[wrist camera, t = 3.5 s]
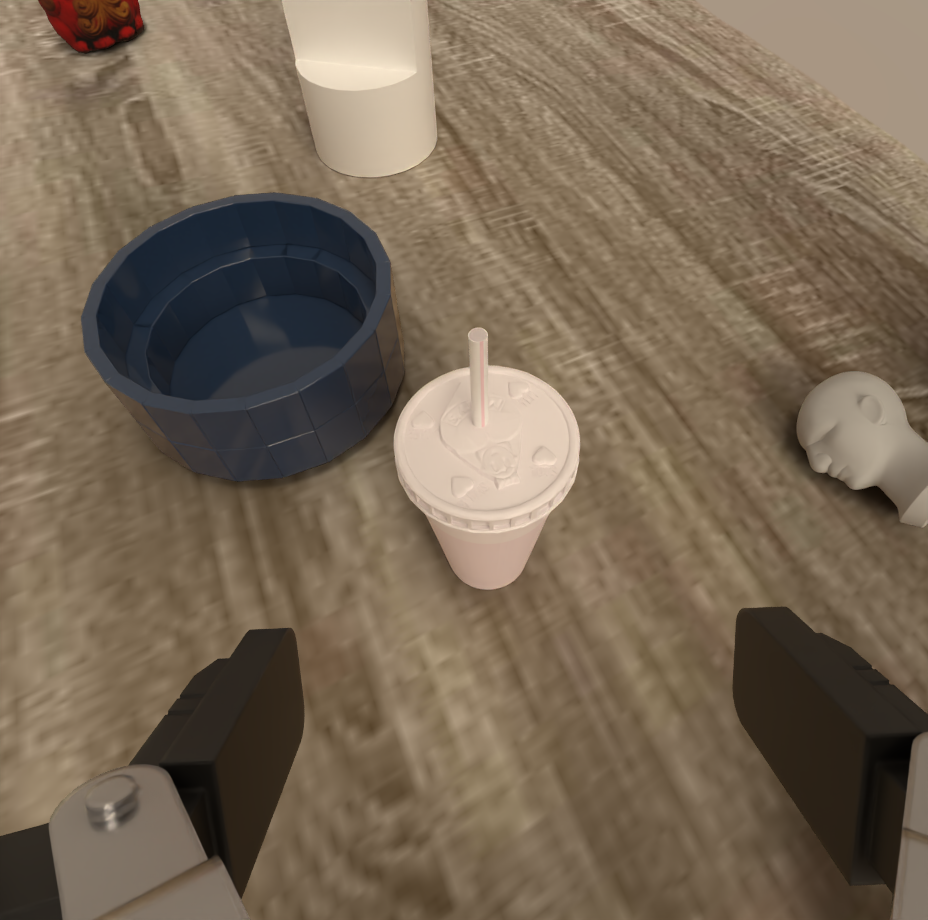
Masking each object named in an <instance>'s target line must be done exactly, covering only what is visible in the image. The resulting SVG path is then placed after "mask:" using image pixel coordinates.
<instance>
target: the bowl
mask: <svg viewBox="0 0 928 920" xmlns="http://www.w3.org/2000/svg"><path fill="white" fill-rule="evenodd" d="M81 325H82V334H83V343H84V352H85V353H86V356H87V357H88V359H89V360H90V362H91V363H92V364H93V366H94V367H95V369H96V370H97V372H98V373H99V375H100V376H101V378H102V379H103V381H104V382H105V383H106V385H107V386H108V387H109V388H110V389H111V391H112V392H113V393H114V394H115V396H116V397H117V398H118V399H119V400H120V402H121V403H122V404H123V405H124V407H125V408H126V409H127V410H128V412H129V413H130V414H131V415H132V416H133V418H134V419H135V420H136V421H137V423H138V424H139V425H140V426H141V427H142V429H143V430H144V431H145V432H146V434H147V435H148V436H149V437H150V439H151V440H152V441H153V442H154V443H155V445H156V446H157V447H158V448H159V450H160V451H161V452H162V453H163V454H165V455H167V456H168V457H170V458H172V459H173V460H175V461H176V462H178V463H180V464H181V465H183V466H185V467H186V468H188V469H189V470H191V471H193V472H196V473H199V474H204V475H209V476H213V477H218V478H223V479H228V480H232V481H251V480H264V479H277V478H283V477H288V476H290V475H293V474H296V473H299V472H302V471H305V470H308V469H311V468H313V467H316V466H319V465H322V464H325V463H327V462H330V461H332V460H333V459H335V458H336V457H338V456H339V455H340V454H342V453H343V452H345V451H346V450H348V449H349V448H351V447H352V446H354V445H355V444H357V443H358V442H360V441H361V440H363V439H364V438H365V437H366V436H367V435H368V434H369V433H370V432H371V430H372V429H373V428H374V427H375V426H376V424H377V423H378V422H379V421H380V420H381V418H382V417H383V416H384V415H385V414H386V413H387V411H388V410H389V409H390V408H391V406H392V404H393V402H394V399H395V396H396V394H397V391H398V388H399V386H400V383H401V381H402V378H403V375H404V372H405V368H404V340H403V334H402V328H401V322H400V316H399V310H398V304H397V298H396V292H395V286H394V280H393V274H392V268H391V263H390V260H389V258H388V256H387V254H386V252H385V250H384V248H383V246H382V244H381V242H380V240H379V238H378V236H377V234H376V233H375V232H374V231H373V230H372V229H371V228H369V227H368V226H367V225H366V224H365V223H363V222H362V221H361V220H360V219H359V218H357V217H356V216H355V215H354V214H353V213H352V212H350V211H348V210H346V209H343V208H341V207H338V206H336V205H333V204H331V203H328V202H326V201H323V200H321V199H318V198H313V197H306V196H299V195H291V194H284V193H276V192H273V193H259V194H246V195H234V196H230V197H227V198H223V199H219V200H215V201H212V202H208V203H204V204H200V205H197V206H193V207H191V208H188V209H186V210H184V211H182V212H179V213H177V214H175V215H173V216H171V217H169V218H167V219H165V220H163V221H161V222H159V223H157V224H155V225H152V227H151V226H150V227H149V228H147V229H146V230H145V231H144V232H142V233H141V234H140V235H138V236H137V237H136V238H134V239H133V240H132V241H131V242H129V243H128V244H127V245H125V246H124V247H123V248H121V249H120V250H119V251H118V253H116V254H115V255H114V257H113V258H112V259H111V261H110V262H109V263H108V264H107V266H106V267H105V268H104V270H103V271H102V272H101V273H100V275H99V276H98V277H97V279H96V280H95V281H94V282H93V284H92V286H91V289H90V292H89V295H88V298H87V301H86V304H85V307H84V310H83V313H82V316H81Z"/></svg>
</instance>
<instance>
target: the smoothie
mask: <svg viewBox="0 0 928 920" xmlns="http://www.w3.org/2000/svg"><path fill="white" fill-rule="evenodd" d="M468 341H469V363H470V367H466V368H461V369H458V370H454V371H451V372H448V373H446V374H444V375H441V376H439V377H437V378H436V379H434V380H432V381H430V382H429V383H428V384H426V385H425V386H423V387H422V388H421V389H420V390H419V391H418V392H417V393H416V394H415V395H414V396H413V397H412V398H411V399H410V400H409V401H408V403H407V404H406V406H405V407H404V409H403V411H402V412H401V414H400V417H399V419H398V422H397V425H396V428H395V434H394V453H395V463H396V468H397V473H398V478H399V481H400V483H401V485H402V486H403V488H404V490H405V492H406V493H407V495H408V497H409V499H410V500H411V501H412V502H413V503H414V504H415V505H416V506H417V507H418V508H419V509H420V510H421V511H422V512H423V513H424V514H426V516H427V518H428V520H429V522H430V525H431V527H432V529H433V531H434V533H435V535H436V537H437V539H438V541H439V543H440V545H441V547H442V549H443V551H444V553H445V555H446V557H447V560H448V562H449V564H450V566H451V568H452V570H453V571H454V573H455V574H456V575H457V577H458V578H459V579H460V580H462V581H463V582H464V583H466V584H468V585H470V586H472V587H474V588H478V589H484V590H492V589H498V588H501V587H504V586H506V585H508V584H510V583H511V582H513V581H514V580H515V579H516V578H517V577H518V576H519V575H520V574H521V572H522V571H523V569H524V567H525V565H526V562H527V560H528V558H529V556H530V554H531V552H532V550H533V547H534V545H535V543H536V541H537V539H538V537H539V534H540V532H541V530H542V528H543V526H544V524H545V521H546V519H547V517H548V515H549V513H550V512H551V511H552V510H553V509H554V508H555V507H557V506H558V505H559V504H560V503H561V502H562V501H563V500H564V498H565V496H566V495H567V493H568V491H569V490H570V488H571V486H572V485H573V483H574V481H575V477H576V473H577V469H578V464H579V450H580V435H579V429H578V425H577V422H576V419H575V416H574V414H573V412H572V410H571V408H570V407H569V405H568V404H567V402H566V401H565V400H564V399H563V397H562V396H561V395H560V394H559V393H558V392H557V391H556V390H555V389H553V388H552V387H551V386H550V385H548V384H547V383H545V382H544V381H543V380H541V379H539V378H537V377H535V376H533V375H531V374H529V373H526V372H523V371H521V370H517V369H513V368H509V367H503V366H491V365H488V333H487V331H486V330H484V329H482V328H474V329H472V330H471V331H470V332H469V334H468Z"/></svg>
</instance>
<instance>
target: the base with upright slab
mask: <svg viewBox="0 0 928 920" xmlns="http://www.w3.org/2000/svg"><path fill="white" fill-rule="evenodd" d="M281 1H282V5H283V9H284V13H285V18H286V22H287V26H288V30H289V34H290V38H291V42H292V46H293V50H294V54H295V59H296V69H297V74H298V78H299V82H300V86H301V90H302V94H303V98H304V102H305V106H306V110H307V114H308V118H309V122H310V126H311V130H312V135H313V139H314V143H315V147H316V151H317V153H318V155H319V157H320V159H321V161H323V162H324V163H325V164H326V165H327V166H328V167H329V168H331V169H333V170H335V171H337V172H339V173H342V174H346V175H350V176H355V177H370V178H373V177H382V176H390V175H393V174H397V173H400V172H404V171H406V170H408V169H410V168H412V167H414V166H417V165H418V164H420V163H421V162H422V161H423V160H425V159H426V158H427V157H428V156H429V155H430V154H431V152H432V151H433V150H434V148H435V145H436V141H437V127H436V113H435V100H434V86H433V72H432V59H431V45H430V31H429V18H428V4H427V0H281Z"/></svg>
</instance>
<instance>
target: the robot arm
mask: <svg viewBox="0 0 928 920" xmlns="http://www.w3.org/2000/svg"><path fill="white" fill-rule="evenodd" d="M733 698H734V704H735V708H736V711H737V715H738V717H739V719H740V722H741V724H742V725H743V727H744V728H745V730H746V731H747V733H748V734H749V736H750V737H751V739H752V740H753V742H754V743H755V745H756V746H757V748H758V749H759V751H760V752H761V754H762V755H763V757H764V758H765V760H766V761H767V763H768V764H769V766H770V767H771V769H772V770H773V772H774V773H775V774H776V776H777V777H778V779H779V780H780V782H781V783H782V785H783V786H784V788H785V789H786V791H787V792H788V794H789V795H790V797H791V798H792V800H793V801H794V803H795V804H796V806H797V807H798V809H799V810H800V812H801V813H802V815H803V816H804V818H805V819H806V821H807V822H808V824H809V825H810V827H811V828H812V830H813V831H814V833H815V834H816V836H817V837H818V839H819V840H820V842H821V843H822V845H823V846H824V848H825V849H826V851H827V852H828V853H829V855H830V856H831V858H832V859H833V861H834V862H835V864H836V865H837V867H838V868H839V870H840V871H841V873H842V874H843V876H844V877H845V879H846V880H847V882H848V883H849V885H850V886H852V885H877V884H886V885H887V887H888V888H889V889H890V891H891V892H892V893H893V898H892V906H891V914H890V920H928V714H926V713H925V712H924V711H923V710H922V709H921V708H920V707H918V706H917V705H916V704H915V703H914V702H913V701H912V700H910V699H909V698H908V697H907V696H906V695H905V694H904V693H902V692H901V691H900V690H899V689H898V688H897V687H896V686H894V685H890V684H889V680H888V679H886V678H885V677H884V676H883V675H882V674H881V673H879V672H878V671H877V670H876V669H872V666H871V665H870V664H869V663H868V662H867V661H866V660H865V659H863V658H862V657H861V656H860V655H859V654H858V653H857V652H855V651H854V650H853V649H852V648H851V647H849V646H847V645H845V644H843V643H841V642H839V641H837V640H835V639H833V638H831V637H829V636H827V635H825V634H823V633H815V632H814V631H813V630H812V629H811V628H810V627H809V626H807V625H806V624H805V623H804V622H803V621H802V620H801V619H800V618H799V617H798V616H797V615H796V614H794V613H793V612H792V611H791V610H790V609H789V608H787V607H763V608H743V609H741V610H740V611H739V613H738V615H737V619H736V632H735V651H734V670H733ZM303 728H304V700H303V691H302V683H301V675H300V666H299V658H298V650H297V642H296V637H295V633H294V631H293V629H292V628H278V629H256V630H249V631H248V632H247V633H246V634H245V636H244V637H243V639H242V640H241V642H240V643H239V645H238V646H237V648H236V649H235V651H234V652H233V654H232V655H231V657H230V658H226V659H217V660H216V661H214V662H213V663H212V664H210V665H209V666H207V667H206V668H205V669H203V670H202V671H200V672H199V673H197V674H196V675H195V676H194V677H193V678H192V680H191V681H190V682H189V684H188V685H187V686H186V688H185V689H184V690H183V692H182V693H181V695H180V699H177V700H176V701H175V703H174V704H173V705H172V707H171V708H170V709H169V711H168V715H165V716H164V718H163V719H162V720H161V722H160V723H159V724H158V726H157V727H156V728H155V730H154V731H153V732H152V734H151V735H150V737H149V738H148V739H147V741H146V742H145V743H144V745H143V746H142V747H141V749H140V750H139V751H138V753H137V754H136V756H135V757H134V758H133V760H132V761H131V762H130V764H129V765H128V766H124V767H120V768H116V769H113V770H110V771H107V772H105V773H102V774H100V775H98V776H96V777H94V778H92V779H90V780H88V781H87V782H85V783H83V784H82V785H80V786H79V787H77V788H76V789H75V790H73V791H72V792H71V793H70V794H68V795H67V796H66V797H65V798H64V799H63V800H62V801H61V802H60V804H59V805H58V806H57V807H56V809H55V810H54V812H53V814H52V816H51V818H50V822H49V823H47V824H43V825H40V826H36V827H33V828H29V829H25V830H21V831H18V832H14V833H10V834H6V835H3V836H0V920H250V918H249V916H248V914H247V912H246V909H245V907H244V905H243V903H242V901H241V899H242V896H243V893H244V891H245V888H246V885H247V883H248V880H249V877H250V875H251V872H252V869H253V867H254V864H255V862H256V859H257V856H258V854H259V851H260V848H261V846H262V843H263V840H264V838H265V835H266V832H267V830H268V827H269V825H270V822H271V819H272V817H273V814H274V811H275V809H276V806H277V803H278V801H279V798H280V795H281V793H282V790H283V787H284V785H285V782H286V780H287V777H288V774H289V772H290V769H291V766H292V764H293V761H294V758H295V756H296V753H297V750H298V748H299V745H300V742H301V739H302V734H303Z"/></svg>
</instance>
